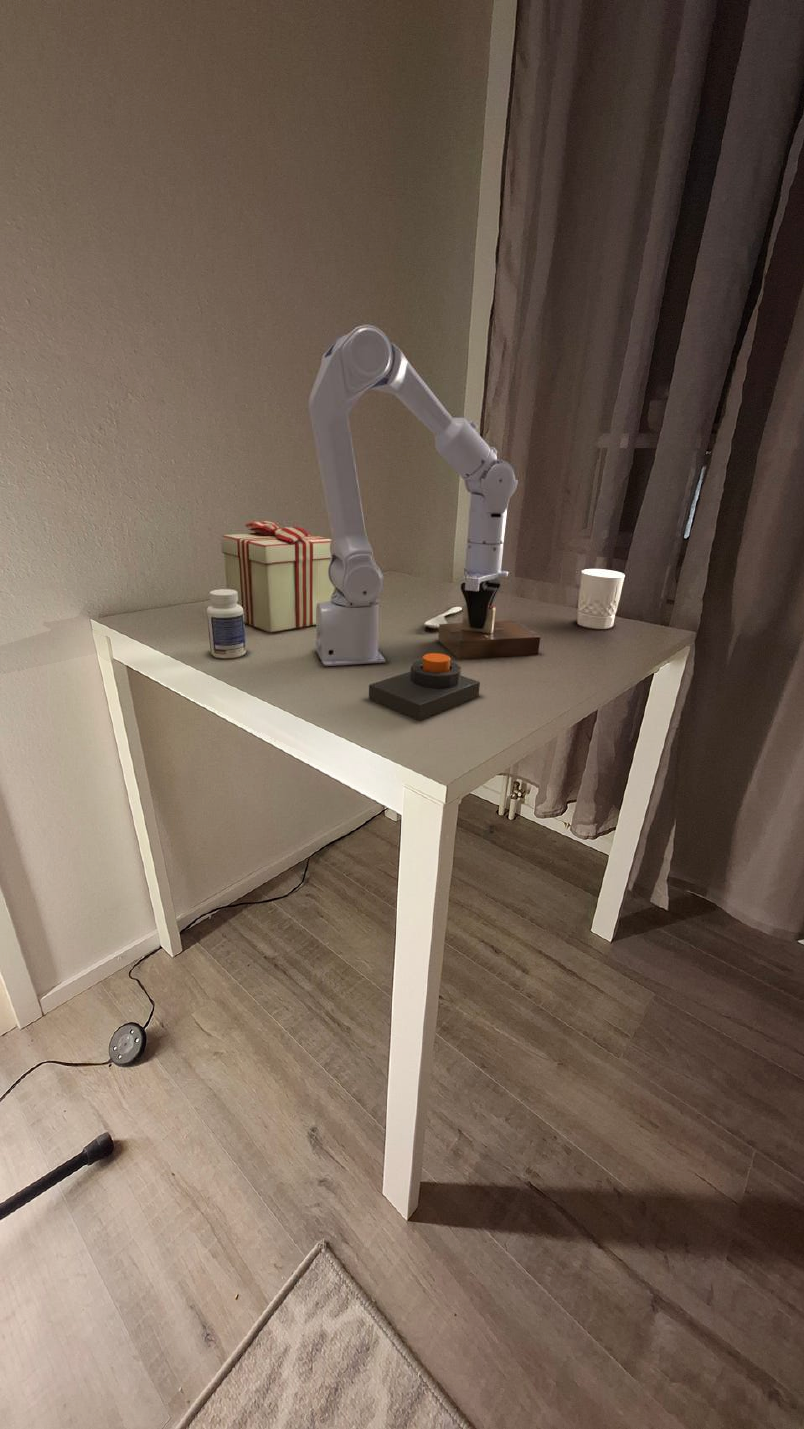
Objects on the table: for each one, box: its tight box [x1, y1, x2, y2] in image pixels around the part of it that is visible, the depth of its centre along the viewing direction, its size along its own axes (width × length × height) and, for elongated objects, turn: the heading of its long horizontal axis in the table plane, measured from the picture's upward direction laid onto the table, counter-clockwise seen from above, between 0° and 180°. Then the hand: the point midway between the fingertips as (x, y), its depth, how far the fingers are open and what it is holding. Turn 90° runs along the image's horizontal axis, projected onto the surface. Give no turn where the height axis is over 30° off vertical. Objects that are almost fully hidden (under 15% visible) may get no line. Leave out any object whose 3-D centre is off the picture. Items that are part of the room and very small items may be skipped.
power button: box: [422, 652, 451, 673], centre depth 81 cm, size 4×4×2 cm
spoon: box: [423, 606, 463, 630], centre depth 119 cm, size 4×21×2 cm, turn 161°
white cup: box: [576, 568, 626, 630], centre depth 118 cm, size 8×8×10 cm
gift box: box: [220, 520, 335, 633], centre depth 113 cm, size 17×18×17 cm
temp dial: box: [461, 604, 497, 633], centre depth 101 cm, size 5×2×4 cm, turn 70°
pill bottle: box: [206, 588, 247, 659], centre depth 94 cm, size 5×5×10 cm
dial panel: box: [437, 620, 541, 660], centre depth 103 cm, size 14×10×3 cm
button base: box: [368, 659, 481, 722], centre depth 81 cm, size 12×9×4 cm
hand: (478, 626), depth 102 cm, fingers closed on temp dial, 2 cm apart
